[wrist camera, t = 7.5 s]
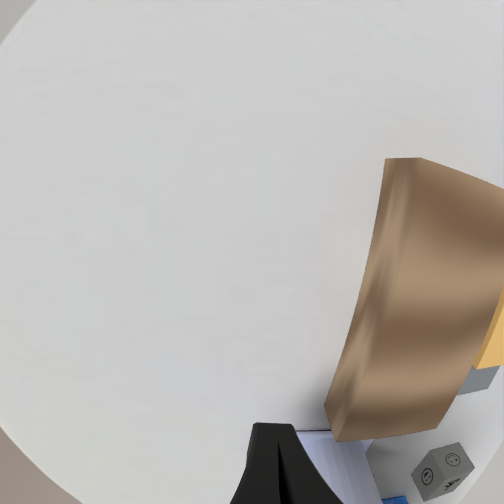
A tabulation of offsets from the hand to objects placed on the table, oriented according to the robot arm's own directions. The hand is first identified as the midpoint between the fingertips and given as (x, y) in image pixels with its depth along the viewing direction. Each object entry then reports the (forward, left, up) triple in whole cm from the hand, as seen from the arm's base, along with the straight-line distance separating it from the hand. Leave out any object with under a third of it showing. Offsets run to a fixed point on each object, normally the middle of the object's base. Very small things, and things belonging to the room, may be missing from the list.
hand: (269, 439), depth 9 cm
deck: (+2, -11, -9) cm, 14 cm away
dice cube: (-19, -25, -10) cm, 33 cm away
